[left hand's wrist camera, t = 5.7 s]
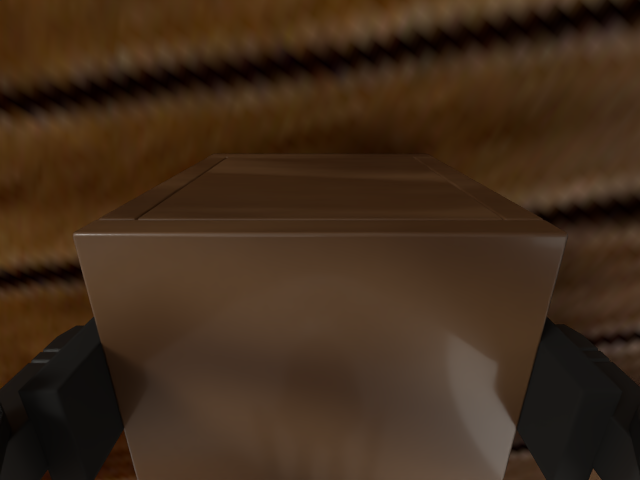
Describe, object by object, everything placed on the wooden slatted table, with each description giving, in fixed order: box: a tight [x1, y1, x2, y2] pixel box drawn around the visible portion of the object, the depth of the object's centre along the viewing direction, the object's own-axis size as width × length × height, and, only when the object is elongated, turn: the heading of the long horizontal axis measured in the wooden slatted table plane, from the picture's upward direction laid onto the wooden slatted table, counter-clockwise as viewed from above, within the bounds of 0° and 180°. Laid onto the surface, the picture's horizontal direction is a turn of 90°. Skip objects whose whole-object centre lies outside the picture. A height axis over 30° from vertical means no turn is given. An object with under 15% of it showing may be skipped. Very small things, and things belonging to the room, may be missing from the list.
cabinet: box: [73, 154, 568, 480], centre depth 16 cm, size 20×10×11 cm, turn 0°
